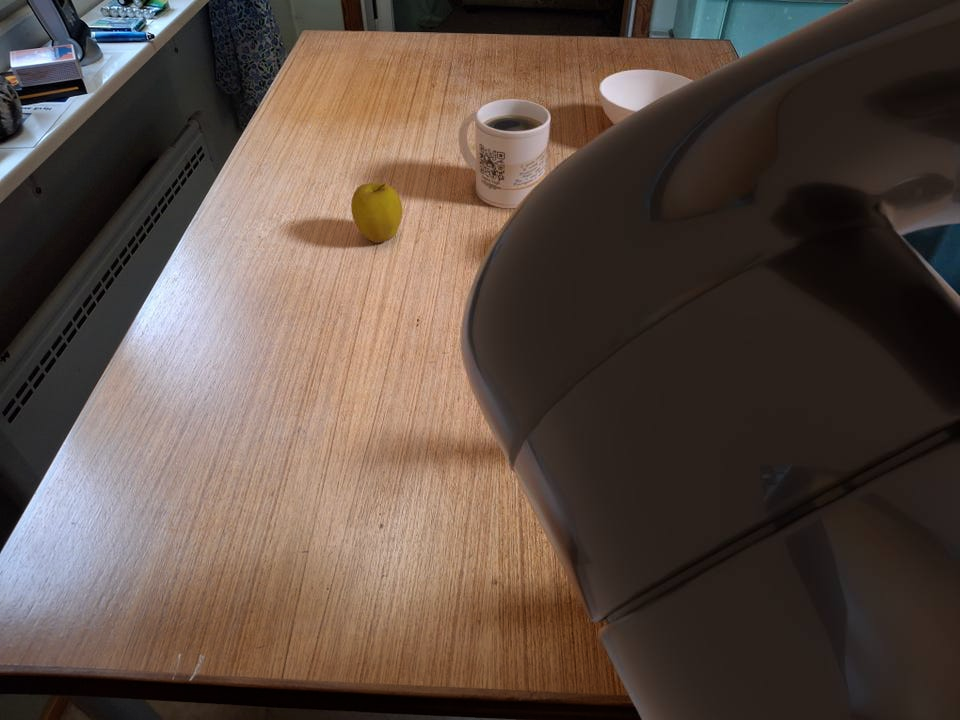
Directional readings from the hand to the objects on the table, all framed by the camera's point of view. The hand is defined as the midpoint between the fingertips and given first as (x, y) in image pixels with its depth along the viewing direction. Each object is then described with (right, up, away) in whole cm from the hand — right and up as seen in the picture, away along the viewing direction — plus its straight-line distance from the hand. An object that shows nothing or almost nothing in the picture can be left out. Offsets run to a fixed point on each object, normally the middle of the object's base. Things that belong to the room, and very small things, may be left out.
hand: (883, 456), depth 37 cm
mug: (-19, +30, +59) cm, 69 cm away
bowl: (+4, +41, +70) cm, 81 cm away
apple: (-35, +21, +50) cm, 65 cm away
